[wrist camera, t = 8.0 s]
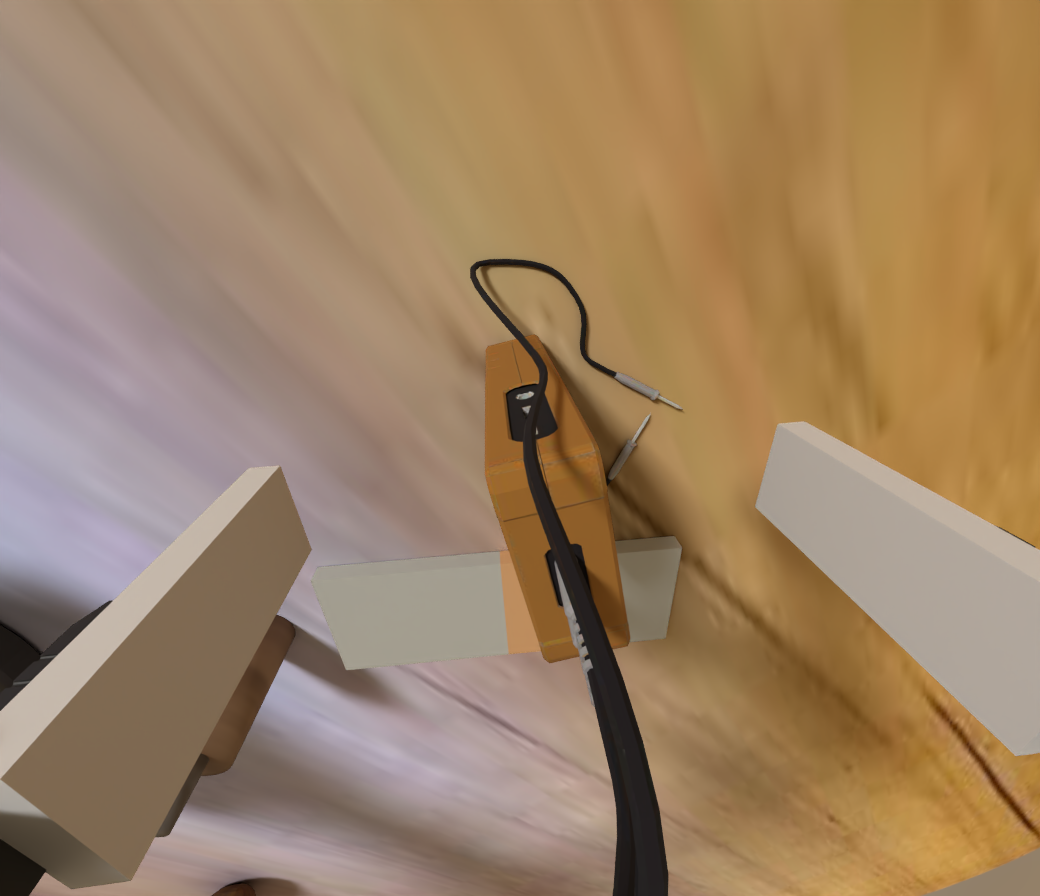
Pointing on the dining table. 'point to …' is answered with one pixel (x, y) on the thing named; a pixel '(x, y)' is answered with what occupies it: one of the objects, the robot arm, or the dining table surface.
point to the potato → (236, 890)
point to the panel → (470, 604)
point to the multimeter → (571, 559)
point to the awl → (236, 715)
